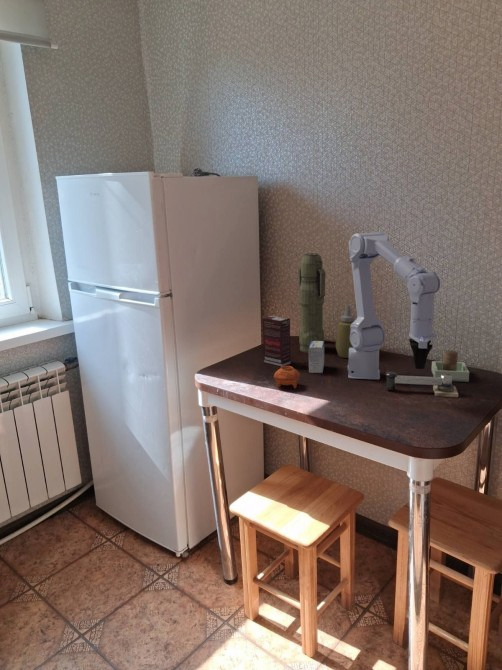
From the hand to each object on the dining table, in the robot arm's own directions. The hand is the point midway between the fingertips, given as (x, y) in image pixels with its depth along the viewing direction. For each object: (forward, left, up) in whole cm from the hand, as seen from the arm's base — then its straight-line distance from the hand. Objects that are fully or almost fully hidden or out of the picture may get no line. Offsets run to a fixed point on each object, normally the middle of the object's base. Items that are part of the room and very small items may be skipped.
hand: (419, 366), depth 145 cm
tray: (+11, +21, -9) cm, 26 cm away
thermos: (-34, +44, -10) cm, 56 cm away
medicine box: (-30, +22, -10) cm, 38 cm away
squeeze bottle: (-21, +38, -10) cm, 44 cm away
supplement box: (-44, +27, -10) cm, 53 cm away
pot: (-37, +5, -10) cm, 39 cm away
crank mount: (+3, +11, -9) cm, 15 cm away
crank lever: (0, +6, -9) cm, 11 cm away
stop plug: (+11, +21, -9) cm, 25 cm away
